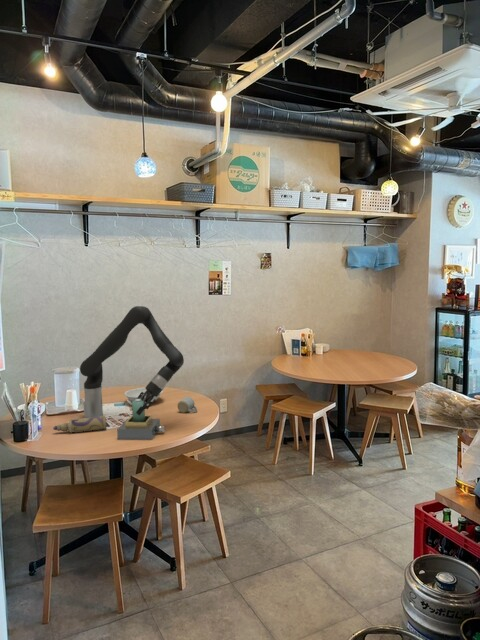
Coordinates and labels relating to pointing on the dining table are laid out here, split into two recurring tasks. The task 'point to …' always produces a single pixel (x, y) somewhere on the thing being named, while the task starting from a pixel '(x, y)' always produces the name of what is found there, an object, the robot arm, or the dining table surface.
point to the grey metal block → (140, 429)
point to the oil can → (135, 407)
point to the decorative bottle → (83, 424)
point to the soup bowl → (137, 393)
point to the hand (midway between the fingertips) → (135, 412)
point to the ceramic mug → (186, 405)
